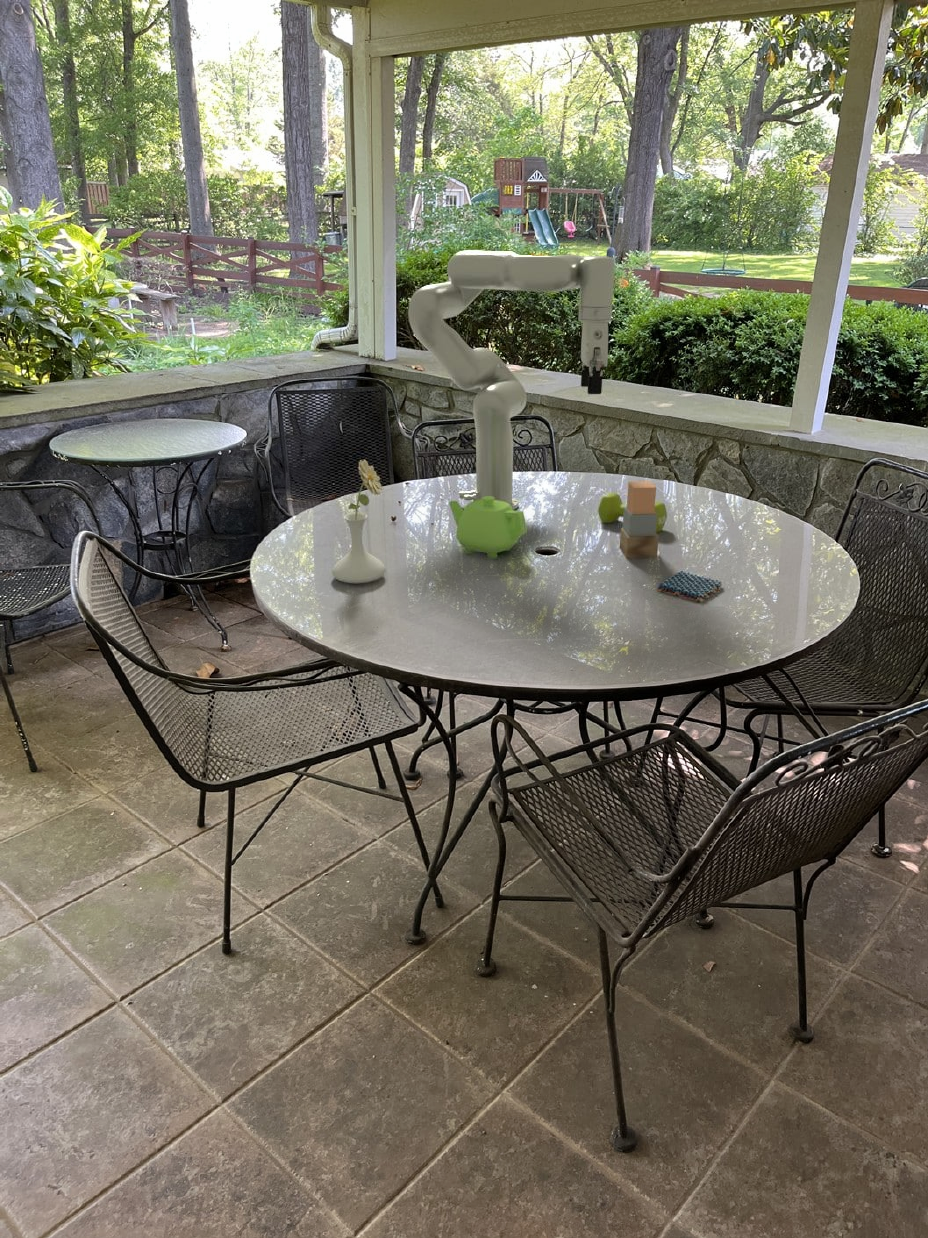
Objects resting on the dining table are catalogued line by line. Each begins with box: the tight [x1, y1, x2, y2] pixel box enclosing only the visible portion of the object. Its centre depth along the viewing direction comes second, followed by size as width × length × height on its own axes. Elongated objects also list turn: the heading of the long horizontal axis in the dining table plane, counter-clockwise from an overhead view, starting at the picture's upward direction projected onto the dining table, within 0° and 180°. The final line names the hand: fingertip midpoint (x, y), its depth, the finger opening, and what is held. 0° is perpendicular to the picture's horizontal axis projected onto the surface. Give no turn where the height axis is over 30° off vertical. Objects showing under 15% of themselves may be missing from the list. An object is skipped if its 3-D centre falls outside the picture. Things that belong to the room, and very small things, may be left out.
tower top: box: [621, 507, 657, 537], centre depth 195 cm, size 6×6×5 cm
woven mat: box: [656, 570, 723, 603], centre depth 178 cm, size 10×11×2 cm
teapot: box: [448, 496, 528, 559], centre depth 198 cm, size 20×13×13 cm
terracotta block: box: [626, 480, 657, 514], centre depth 193 cm, size 5×5×6 cm
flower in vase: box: [331, 459, 387, 584], centre depth 181 cm, size 13×11×25 cm
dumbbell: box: [597, 492, 668, 534], centre depth 213 cm, size 16×8×7 cm, turn 50°
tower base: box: [619, 527, 660, 559], centre depth 197 cm, size 7×7×5 cm
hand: (590, 390), depth 207 cm, fingers open, 9 cm apart
